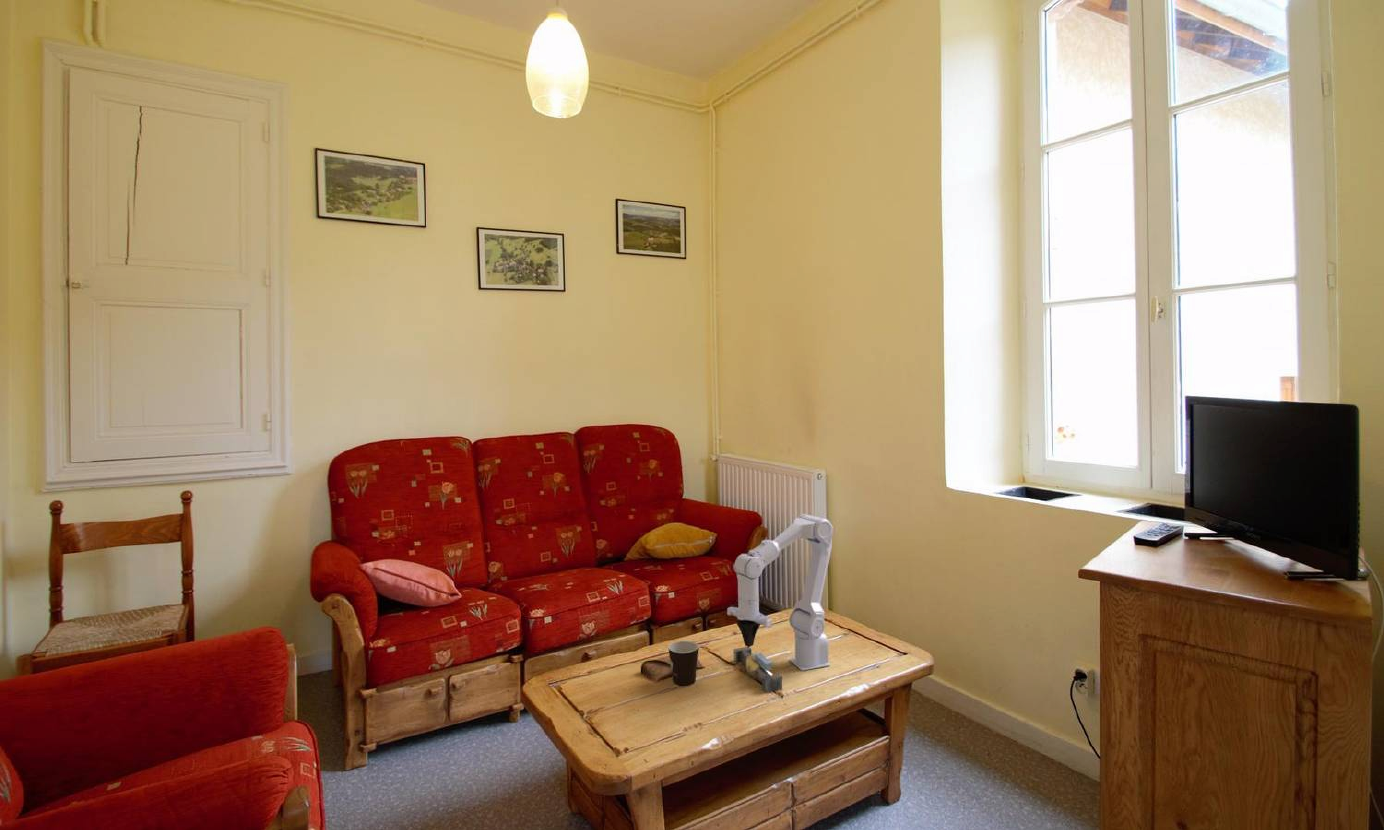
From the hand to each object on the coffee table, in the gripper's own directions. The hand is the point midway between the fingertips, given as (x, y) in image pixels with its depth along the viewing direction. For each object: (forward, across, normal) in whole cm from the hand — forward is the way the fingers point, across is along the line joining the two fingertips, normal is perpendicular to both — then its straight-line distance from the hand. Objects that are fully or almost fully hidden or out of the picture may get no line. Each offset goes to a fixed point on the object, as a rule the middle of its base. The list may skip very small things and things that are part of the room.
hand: (749, 645), depth 189 cm
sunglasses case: (+11, -21, -10) cm, 26 cm away
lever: (+5, +2, +3) cm, 7 cm away
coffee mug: (+10, -14, -11) cm, 21 cm away
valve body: (+10, -1, +4) cm, 11 cm away
